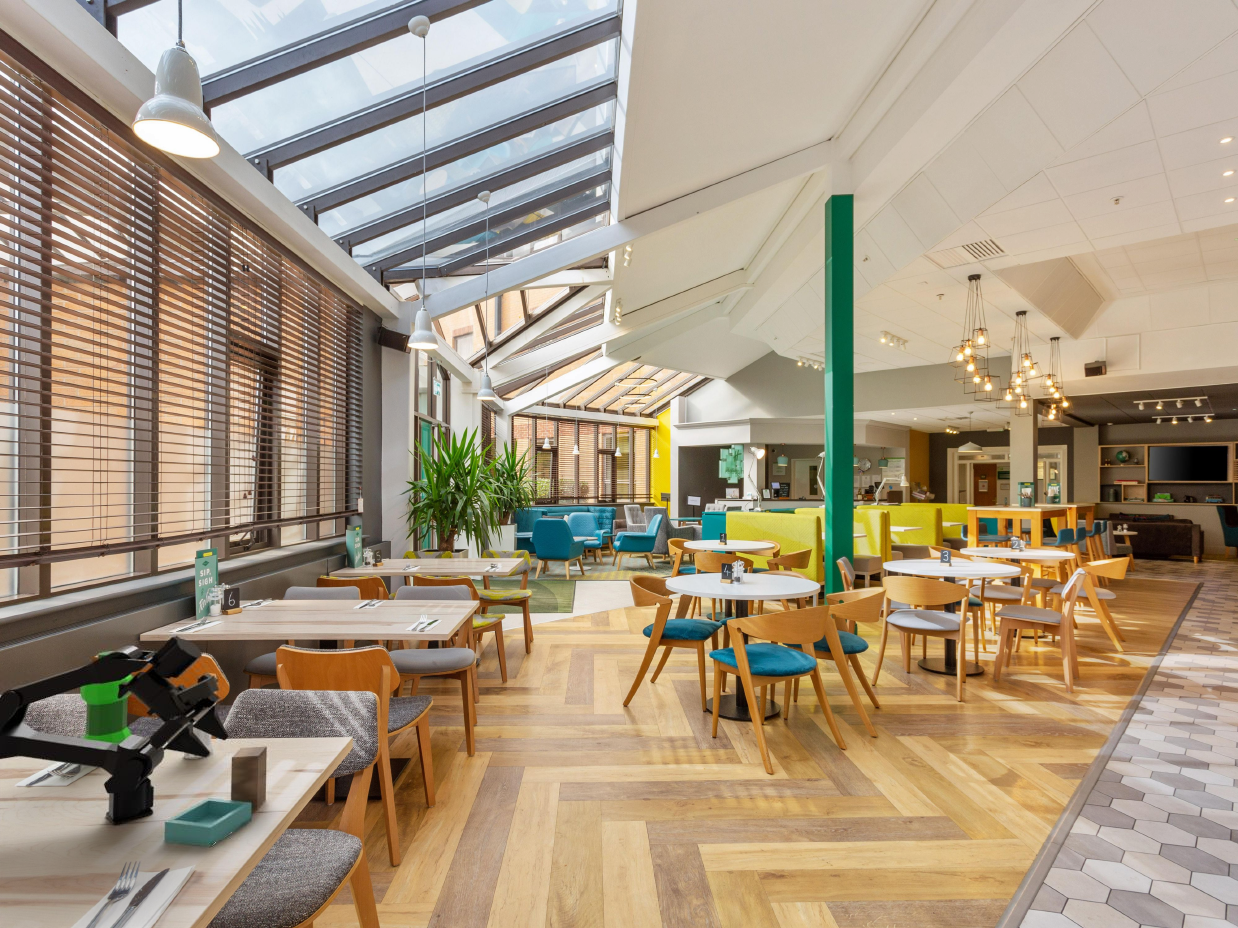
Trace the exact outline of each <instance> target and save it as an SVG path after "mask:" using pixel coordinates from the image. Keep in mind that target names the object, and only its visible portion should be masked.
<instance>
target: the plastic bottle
mask: <svg viewBox="0 0 1238 928" xmlns="http://www.w3.org/2000/svg"><path fill="white" fill-rule="evenodd" d="M114 651H115V650H111V651H110V650H109V651H103V652H99V653H98V654H97V660H98V659H100V658H102V657H104V656H106V655H108V654H110V653H112V652H114ZM133 677H134V676H133V675H132V674H131V675H129V676H128V677H126V678H124V679H122V680H120V681H115V682H109V683H103V684H91V685H85V686H82V687H80V691H79V692H80V697H81V699H82V700H83V701H85V703H86V721H85V722H86V724H85V725H86V726H85V733H84V735H83V737H82V739H89V740H95V741H102V742H108V743H121V742H122V741H123V740H125V739H126V738H127V737H129V736H130V735H132V733H131V730H130V729H129V728H128V726H127V725H128V697H130V695H131V694H132V693H130V694H128V695H126V696H124V697H122V698H120V699H119V698H117V696H118V691H119V686H118V685H119V684H121V683H123V682H129V681H130V680H131V679H132V678H133Z"/></svg>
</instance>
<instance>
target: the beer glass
mask: <svg viewBox="0 0 1238 928" xmlns="http://www.w3.org/2000/svg"><path fill="white" fill-rule="evenodd" d="M214 693H215V694H216V691H215V692H214ZM216 703H217V702H216ZM216 703H215V704H216ZM215 704H214V705H215ZM214 705H213V706H214ZM195 723H196V721H195V722H194V723H193V725H194V724H195ZM188 724H190V723H189V722H188V723H187V725H188ZM193 732H194V734H195V735H196V736H197V737H198V738H199V739H200V740H201V742H202V743H203V744H204V745H205V746H206V747H207V749H208V750H209V751H210V754H209V755H208V756H211V755H212V754H213V753H214V749H213V745H212V735H210V734H208V733H205V732H203V731H201V730H199V729H197V728H194V727H193ZM208 756H207V757H208ZM183 758H184V759H185V760H199V759H203V758H205V757H201V756H197V755H193V754H188V753H184V752H183Z"/></svg>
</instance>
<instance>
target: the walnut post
mask: <svg viewBox="0 0 1238 928" xmlns="http://www.w3.org/2000/svg"><path fill="white" fill-rule="evenodd" d="M267 749H268V746H259V747H258V746H253V747H252V746H251V747H241V748H240V749H239V750H237V752H236V753H234V754H233V755H232V756H231V770H230V771H231V775H230V776H231V777H230V778H231V779H230V800H232V801H241V802H250V803H251V812H257V811H258V810H259V809H260V808H261V807H262V805H263V804H264V803H265V801H266V800H267V764H268V763H267V761H268V760H267V758H268V757H267V755H268V753H267V751H268V750H267ZM263 802H264V803H263Z"/></svg>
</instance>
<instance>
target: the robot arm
mask: <svg viewBox="0 0 1238 928" xmlns="http://www.w3.org/2000/svg"><path fill="white" fill-rule="evenodd" d="M113 651H114V652H112V653H110V654H108V655H106V656H104V657H102V658H100V659H98V658H97V659H96V660H94V661H92V662H90V663H87V664H85V665H82V666H79V667H75V668H73V669H69V670H66V671H63V672H59V673H57V674H54V675H51V676H47V677H44V678H42V679H38V680H34V681H33V682H32V681H31V682H29V683H26V684H25V683H23V684H19V685H16V686H14V687H12V688H10V689H8V690H6V691H4V692H3V693H2V694H1V695H0V760H3V759H10V758H17V757H19V758H21V757H23V758H30V759H35V760H36V759H38V760H43V761H51V762H57V763H64V764H65V763H66V764H71V765H78V766H86V767H92V768H100V769H102V770H104V771H105V772H107V773H108V774H109V775H111V776H110V777H109V778H108V779H107V780H106V781H105V782H104V783H103V787H104V789H105V791H106V793H107V794H108V811H107V812H105V817H106V818H108V820H109V821H110V822H111V824H113V825H114V826H116V825H120V824H124V823H126V822H129V821H133V820H135V819H140V818H142V817H146V816H149V815H152V814H154V810H153V807H154V796H155V795H154V792H155V787H154V786H153V785H152V780H151V778H149V776H151V775H152V774H153V773H154V770H155V769H156V768H157V767H158V766H159V765H160V764H161V763H162V762H163V760H164V758H165V751H166V750H168V751H173V752H180V753H183V754H184V753H188V754H193V755H197V756H201V757H204V758H207V757H208V755H209V754H210V751H209V750H208V749H207V747H206V746H205V745H204V744H203V743H202V742H201V740H200V739H199V738H198V737H197V736H196V735H195V734H194V732H193V727H194V728H197V729H199V730H201V731H203V732H205V733H208V734H210V735H211V737H215V738H217V739H219V740H222V741H226V740H227V739H229V734H228V731H227V730H226V728H225V726H224V724H223V722H222V721H221V719H220V716H219V714H218V711H219V705H220V701H219V700H220V699H221V697H219V695H217V693H216V692H218V691H219V690H220V688H219V686H218V684H217V683H218V682H219V678H217V677H215V675H211V674H210V673H208V672H206V673H205V674H203V675H201V676H199V677H198V678H197V683H195V684H193V685H191V686H189V687H186V686H185V685H184V684H179V685H178V686H176V685H175V684H174V683H173V682H171V680H170V679H172V678H173V679H180V677H181V676H182V675H183V674H184V673H185V672H187V670H188V669H190V668H191V667H192V666H193V665H194V664H195V663H196V662H197V661H198V660H199V659H200V658H201V657H202V654H203V653H202V651H201V650H200V648H199V647H198V646H197V645H196V644H195V643H194V642H190V641H189V640H187V639H185V638H181V637H180V636H178V635H174V636H172V637H171V638H170V639H168V641H166V642H165V644H164V645H163V646H162V647H161V648H160V649H159V650H158V651H151V650H141V649H140V648H138V647H137V646H135V645H125V646H121V647H120V648H118V649H116V650H113ZM148 666H149V667H150V668H149V669H147V670H146V671H142V670H144V669H145V668H147V667H148ZM139 671H140V672H139ZM136 672H137V673H136ZM135 673H136V674H135ZM133 674H135V675H134V676H132V675H133ZM129 675H131V676H132V677H133V678H132V679H131V680H130V681H129V682H123V683H121V684H119V685H118V686H119V691H118V696H117V698H119V699H120V698H122V697H124V696H126V695H128V694H130V693H131V694H132V695H133V696H134V697H135V698H137V700H139V701H140V702H141V703H142V704H143V705H144V706H145V707H146V708H147V709H149V710H148V711H147V712H146V714H147V715H148V716H149V717H151V716H153V715H155V716H157V717H158V718H159V719H160V720H161V721H162V722H163V724H162V725H161V726H160V728H158V729H157V730H156V731H155V732H154V733H153V734H152V735H151V736H149V737H143V736H139V735H136V734H131V735H130V736H129V737H127V738H126V739H125V740H123V741H122V742H121V743H108V742H102V741H95V740H89V739H83V737H82V738H81V737H74V736H67V735H60V734H54V733H48V732H47V733H46V732H42V731H41V732H40V731H36V730H34V729H33V728H31V727H30V726H29V725H28V724H26V723H24V722H23V721H24V720H25V718H26V716H27V712H28V710H29V707H30V704H33V703H36V702H39V701H41V700H45V699H49V698H52V697H54V696H57V695H60V694H63V693H66V692H70V691H73V690H75V689H79V688H81V687H82V686H85V685H91V684H103V683H109V682H115V681H120V680H122V679H124V678H126V677H128V676H129ZM214 692H215V693H214ZM131 694H130V695H131ZM215 703H216V704H215ZM214 704H215V705H214ZM213 705H214V706H213ZM195 721H196V723H195V724H194V725H193V723H194V722H195ZM188 722H189V723H190V724H188V725H187V723H188ZM209 756H210V755H209Z"/></svg>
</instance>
